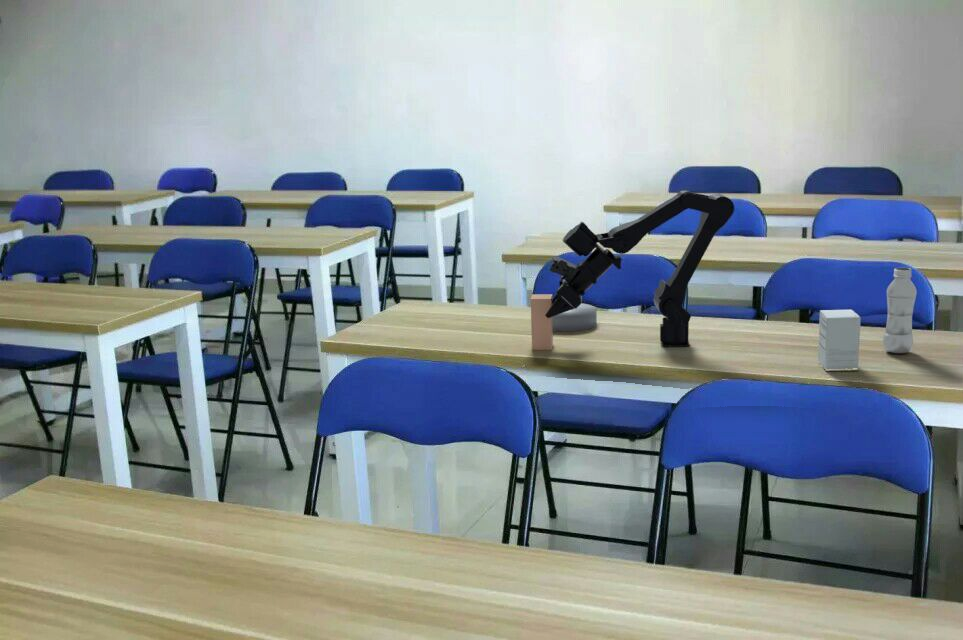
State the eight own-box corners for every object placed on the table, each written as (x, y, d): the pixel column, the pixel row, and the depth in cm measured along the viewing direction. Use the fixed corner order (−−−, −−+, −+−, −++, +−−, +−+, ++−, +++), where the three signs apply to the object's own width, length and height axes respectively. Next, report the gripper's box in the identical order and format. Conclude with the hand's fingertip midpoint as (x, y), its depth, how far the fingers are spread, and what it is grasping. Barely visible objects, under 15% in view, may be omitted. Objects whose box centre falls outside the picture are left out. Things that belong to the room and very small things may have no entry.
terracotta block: (553, 344, 254) (552, 294, 251) (552, 349, 250) (550, 298, 246) (533, 344, 255) (532, 294, 252) (532, 349, 250) (530, 298, 247)
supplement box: (849, 362, 230) (852, 308, 227) (858, 371, 223) (861, 316, 220) (816, 362, 231) (819, 309, 227) (824, 372, 223) (826, 317, 220)
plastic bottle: (875, 350, 238) (880, 268, 233) (898, 347, 240) (904, 265, 235) (895, 357, 232) (901, 273, 227) (918, 353, 234) (924, 269, 229)
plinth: (597, 316, 280) (597, 302, 279) (596, 331, 265) (595, 316, 264) (540, 316, 282) (539, 303, 281) (535, 331, 267) (535, 316, 266)
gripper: (570, 239, 254) (527, 282, 258) (566, 252, 236) (521, 298, 240) (601, 269, 255) (558, 312, 259) (600, 285, 237) (554, 330, 241)
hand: (547, 312), depth 250 cm, fingers open, 9 cm apart
